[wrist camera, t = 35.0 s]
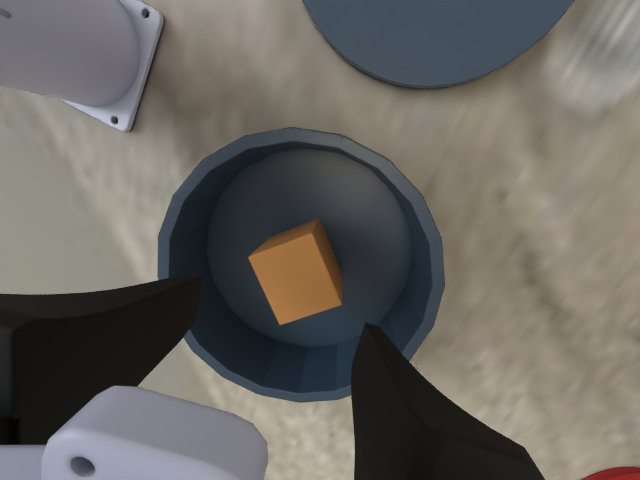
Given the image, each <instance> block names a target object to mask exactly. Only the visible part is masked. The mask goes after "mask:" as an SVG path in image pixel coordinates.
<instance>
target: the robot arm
mask: <svg viewBox="0 0 640 480" xmlns="http://www.w3.org/2000/svg"><path fill="white" fill-rule="evenodd" d="M147 12H149V17H148V18H146V13H147ZM163 22H164V20H163V16H162V14H161V13H160V12H158V11H157V10H156V9H154V8H152V7H150V6H149V5H147V4H145V3H143V2H141V1H139V0H0V85H2V86H6V87H10V88H15V89H19V90H23V91H27V92H31V93H36V94H40V95H44V96H48V97H52V98H57V99H59V100H61V101H63V102H65V103H67V104H69V105H71V106H73V107H75V108H76V109H78V110H80V111H82V112H84V113H86V114H88V115H90V116H92V117H94V118H96V119H98V120H100V121H102V122H104V123H106V124H108V125H110V126H112V127H114V128H115V129H117V130H119V131H123V132H128V131H130V130H131V128H132V124H133V121H134V118H135V115H136V111H137V108H138V105H139V102H140V98H141V95H142V92H143V88H144V85H145V82H146V79H147V75H148V72H149V69H150V65H151V62H152V59H153V56H154V52H155V49H156V46H157V43H158V39H159V36H160V33H161V29H162V26H163ZM116 118H118V123H117V124H116V122H115V119H116ZM202 279H203V278H201V277H197V276H193V275H190V274H188V275H180V276H175V277H171V278H166V279H162V280H158V281H153V282H149V283H144V284H139V285H134V286H129V287H124V288H118V289H112V290H105V291H96V292H86V293H70V294H51V295H21V294H0V480H264V476H265V472H266V468H267V464H268V449H267V442H266V440H265V439H264V438H263V436H262V435H261V434H260V432H259V431H258V429H257V428H256V427H255V425H254V424H252V423H251V422H249V421H247V420H245V419H243V418H241V417H239V416H237V415H235V414H233V413H229V412H226V411H222V410H219V409H215V408H211V407H208V406H204V405H201V404H197V403H194V402H190V401H187V400H183V399H179V398H176V397H172V396H169V395H165V394H162V393H158V392H154V391H151V390H147V389H144V388H140V387H137V386H138V385H139V384H140V383H141V382H142V380H143V379H144V378H145V377H146V376H147V375H148V374H149V373H150V372H151V371H152V370H153V369H154V368H155V367H156V366H157V365H158V364H159V363H160V362H161V361H162V359H163V358H164V357H165V356H166V355H167V354H168V353H169V352H170V351H171V350H172V349H173V348H174V347H175V346H176V345H177V344H178V343H179V342H180V341H181V339H182V338H183V337H184V336H185V334H186V333H187V332H188V330H189V329H190V328H191V326H192V325H193V323H194V322H195V320H196V316H197V310H198V304H199V298H200V292H201V286H202ZM351 396H352V409H353V422H354V435H355V471H354V480H545V479H544V477H543V476H542V474H541V472H540V471H539V469H538V468H537V466H536V465H535V463H534V461H533V460H532V458H531V457H530V455H529V454H528V452H527V451H526V449H525V448H524V447H523V446H521V445H519V444H517V443H516V442H514V441H512V440H510V439H509V438H507V437H505V436H503V435H502V434H500V433H498V432H496V431H495V430H493V429H491V428H490V427H488V426H486V425H485V424H483V423H482V422H480V421H479V420H477V419H476V418H474V417H473V416H471V415H470V414H468V413H467V412H466V411H464V410H463V409H461V408H460V407H459V406H457V405H456V404H455V403H453V402H452V401H451V400H450V399H448V398H447V397H446V396H444V395H443V394H442V393H441V392H440V391H438V390H437V389H436V388H435V387H434V386H433V385H432V384H431V383H430V382H428V381H427V380H426V379H425V378H424V377H423V376H422V375H421V374H420V373H419V372H418V371H417V370H416V369H415V368H414V367H413V366H412V365H411V363H410V362H409V361H408V360H407V359H406V358H405V357H404V356H403V354H402V353H401V352H400V351H399V350H398V348H397V347H396V346H395V345H394V343H393V342H392V341H391V340H390V338H389V337H388V336H387V335H386V333H385V332H384V331H383V330H382V329H381V327H380V326H377V325H373V324H369V323H366V322H365V325H364V328H363V331H362V334H361V337H360V340H359V343H358V346H357V349H356V352H355V355H354V358H353V361H352V370H351Z"/></svg>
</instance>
